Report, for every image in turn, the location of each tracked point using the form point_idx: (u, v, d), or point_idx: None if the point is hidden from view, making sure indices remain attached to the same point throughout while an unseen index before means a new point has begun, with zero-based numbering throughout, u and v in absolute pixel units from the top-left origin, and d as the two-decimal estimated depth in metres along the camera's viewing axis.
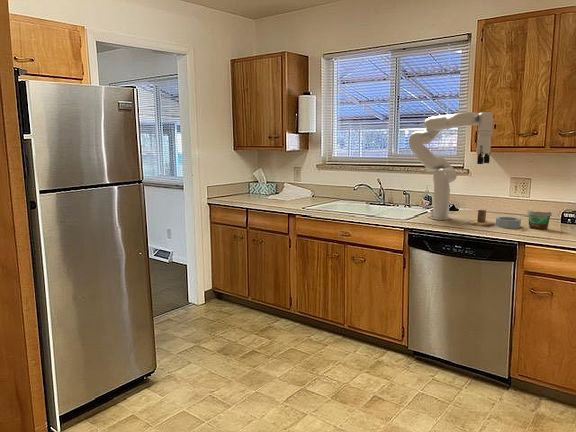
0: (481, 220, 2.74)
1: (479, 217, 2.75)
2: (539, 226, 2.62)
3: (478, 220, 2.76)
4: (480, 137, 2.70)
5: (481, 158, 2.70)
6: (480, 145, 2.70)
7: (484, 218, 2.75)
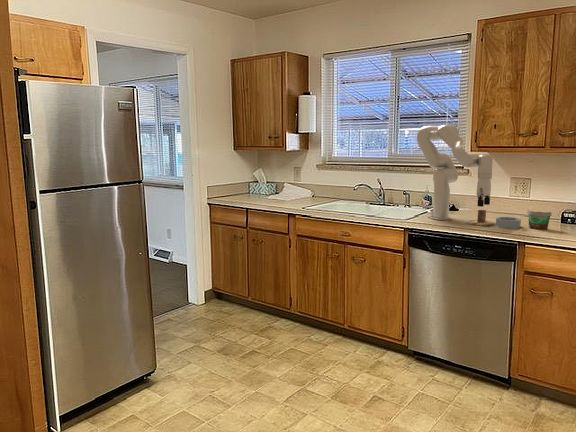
0: (481, 220, 2.74)
1: (479, 217, 2.75)
2: (539, 226, 2.62)
3: (478, 220, 2.76)
4: (480, 180, 2.69)
5: (481, 201, 2.69)
6: (480, 187, 2.69)
7: (484, 218, 2.75)
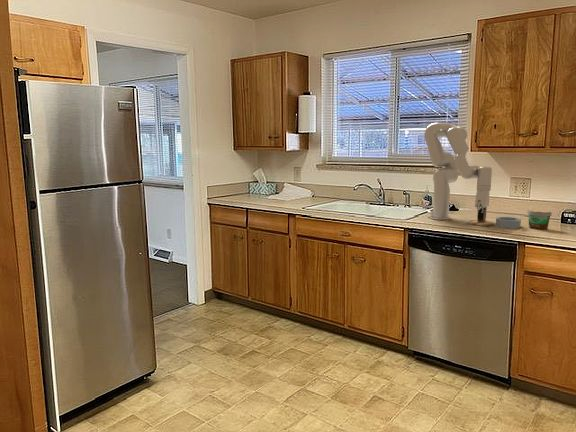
0: (481, 220, 2.74)
1: None
2: (539, 226, 2.62)
3: (478, 220, 2.76)
4: (479, 192, 2.70)
5: (481, 214, 2.73)
6: (479, 199, 2.70)
7: (484, 218, 2.75)
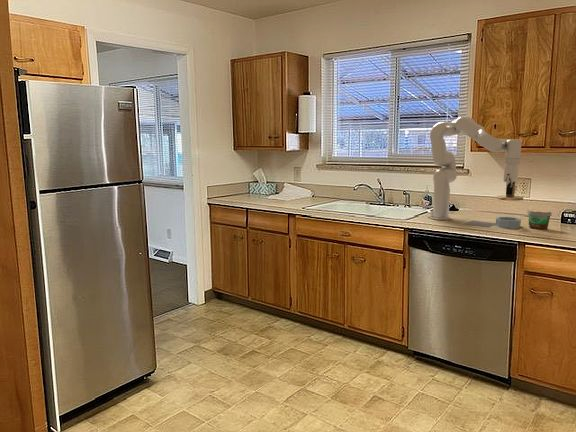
0: (510, 195, 2.64)
1: None
2: (539, 226, 2.62)
3: (507, 195, 2.66)
4: (508, 165, 2.61)
5: (510, 189, 2.63)
6: (508, 173, 2.61)
7: (513, 193, 2.65)
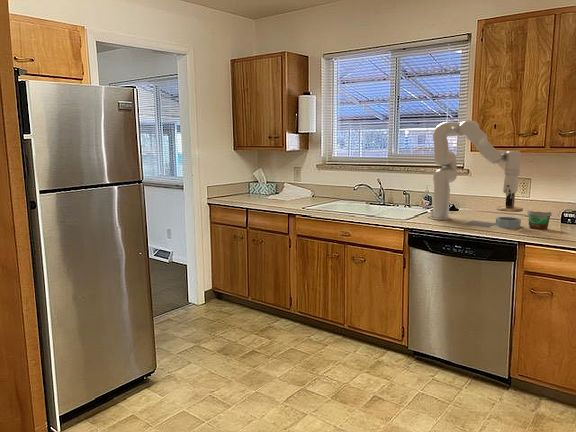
0: (510, 206, 2.65)
1: None
2: (539, 226, 2.62)
3: (506, 206, 2.67)
4: (507, 176, 2.62)
5: (510, 200, 2.64)
6: (507, 184, 2.62)
7: (513, 204, 2.66)
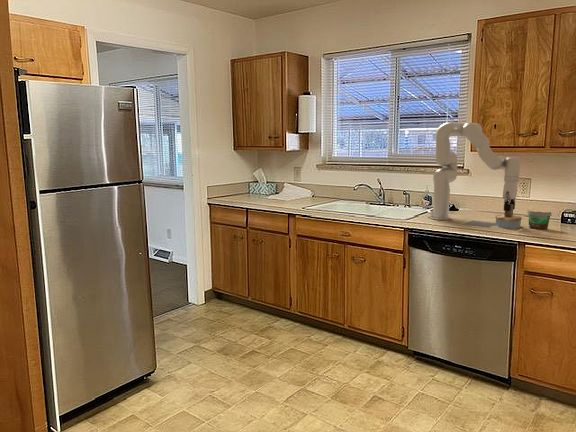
0: (508, 215, 2.66)
1: (506, 212, 2.67)
2: (539, 226, 2.62)
3: (505, 215, 2.68)
4: (507, 183, 2.62)
5: (508, 205, 2.63)
6: (507, 190, 2.62)
7: (511, 213, 2.67)
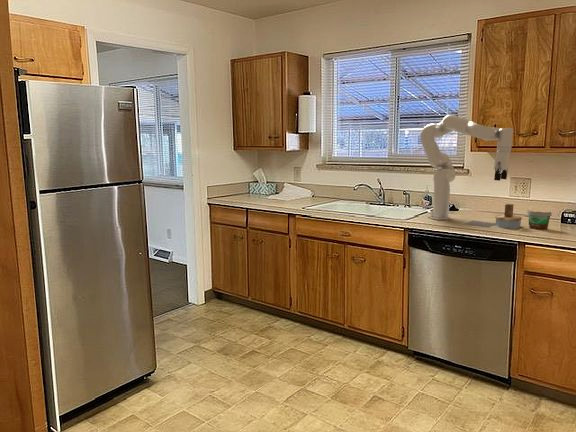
0: (508, 215, 2.66)
1: (506, 212, 2.67)
2: (539, 226, 2.62)
3: (505, 215, 2.68)
4: (499, 153, 2.66)
5: (498, 174, 2.67)
6: (498, 161, 2.67)
7: (511, 213, 2.67)
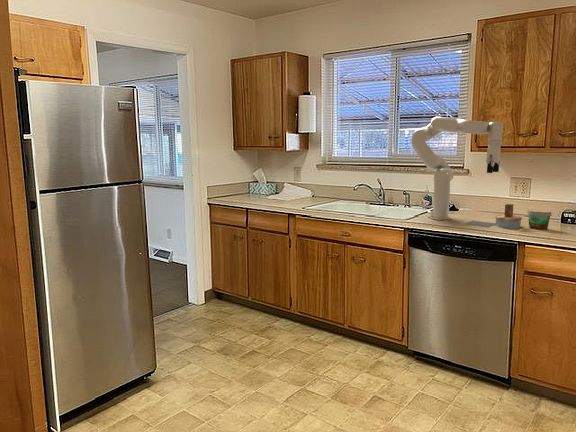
0: (508, 215, 2.66)
1: (506, 212, 2.67)
2: (539, 226, 2.62)
3: (505, 215, 2.68)
4: (490, 146, 2.72)
5: (491, 167, 2.73)
6: (490, 154, 2.73)
7: (511, 213, 2.67)
